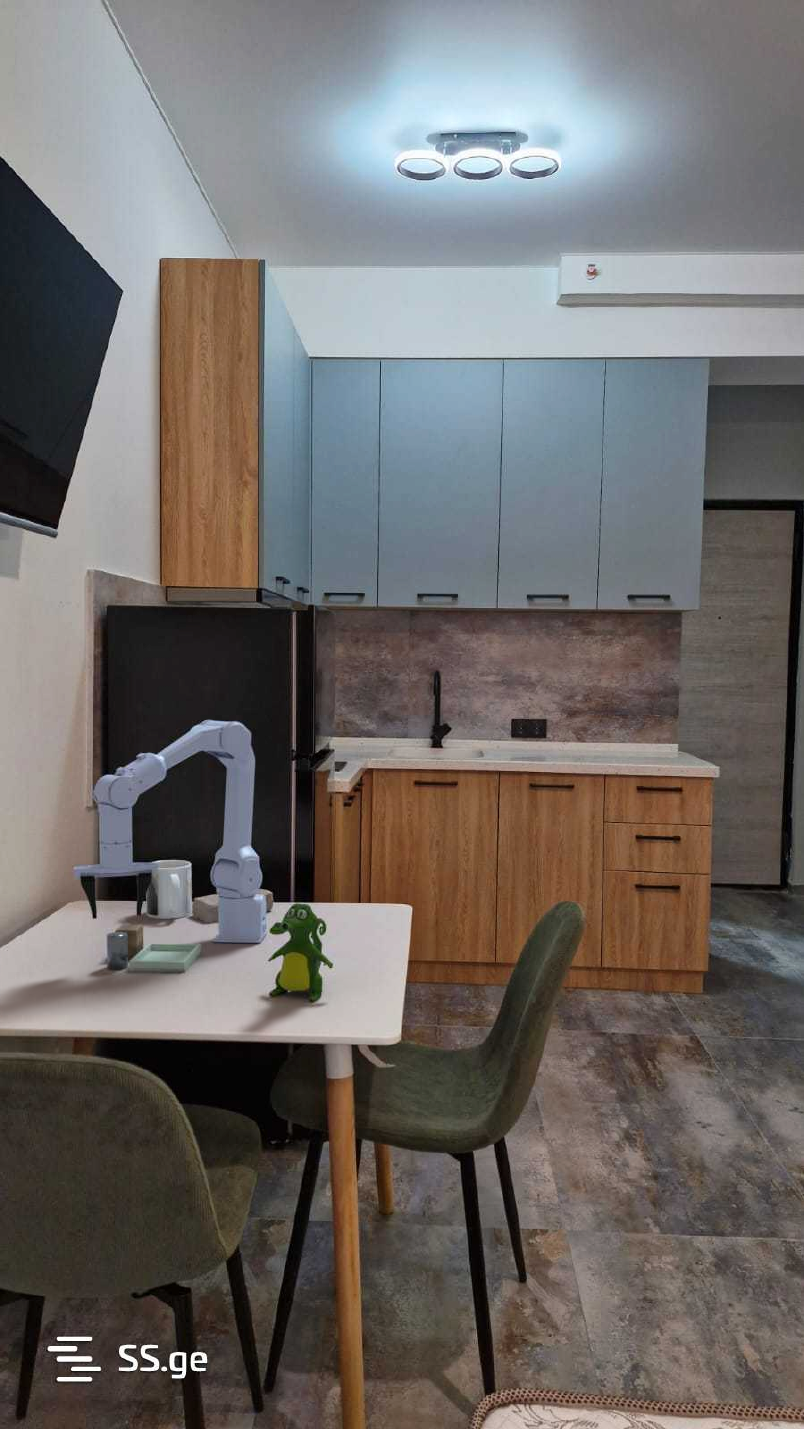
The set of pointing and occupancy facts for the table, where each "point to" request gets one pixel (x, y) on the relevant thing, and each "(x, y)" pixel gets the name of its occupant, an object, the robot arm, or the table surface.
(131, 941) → the block
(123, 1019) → the table surface
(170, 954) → the tray
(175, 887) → the mug
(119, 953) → the peg
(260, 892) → the brick
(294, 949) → the toy
